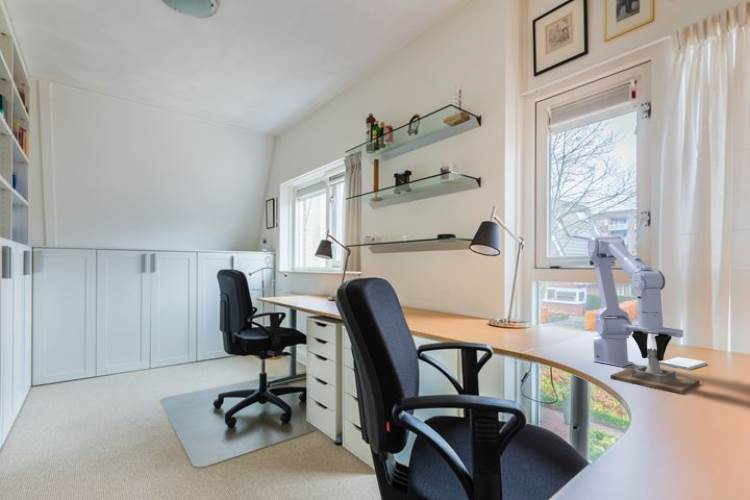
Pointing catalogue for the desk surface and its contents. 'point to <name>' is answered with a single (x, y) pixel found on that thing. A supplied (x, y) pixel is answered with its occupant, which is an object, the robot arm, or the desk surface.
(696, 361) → the external hard drive
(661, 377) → the socket board
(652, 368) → the rook chess piece
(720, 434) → the desk surface
